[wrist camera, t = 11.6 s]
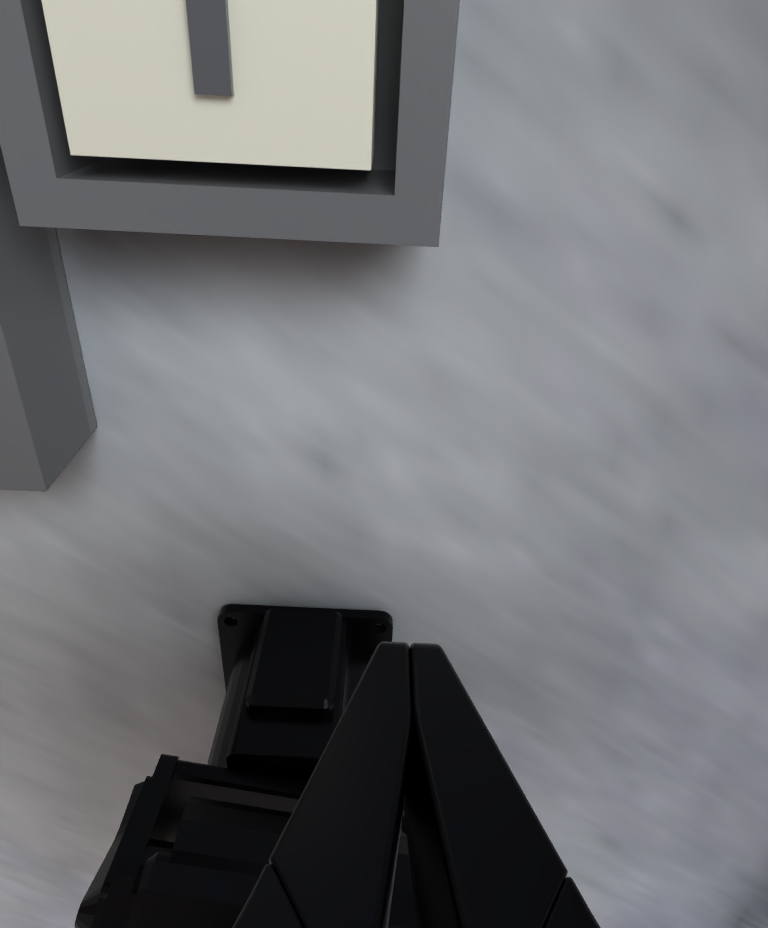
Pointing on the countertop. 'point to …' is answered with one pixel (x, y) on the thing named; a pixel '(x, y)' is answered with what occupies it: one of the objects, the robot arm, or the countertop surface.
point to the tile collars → (183, 209)
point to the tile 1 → (218, 79)
